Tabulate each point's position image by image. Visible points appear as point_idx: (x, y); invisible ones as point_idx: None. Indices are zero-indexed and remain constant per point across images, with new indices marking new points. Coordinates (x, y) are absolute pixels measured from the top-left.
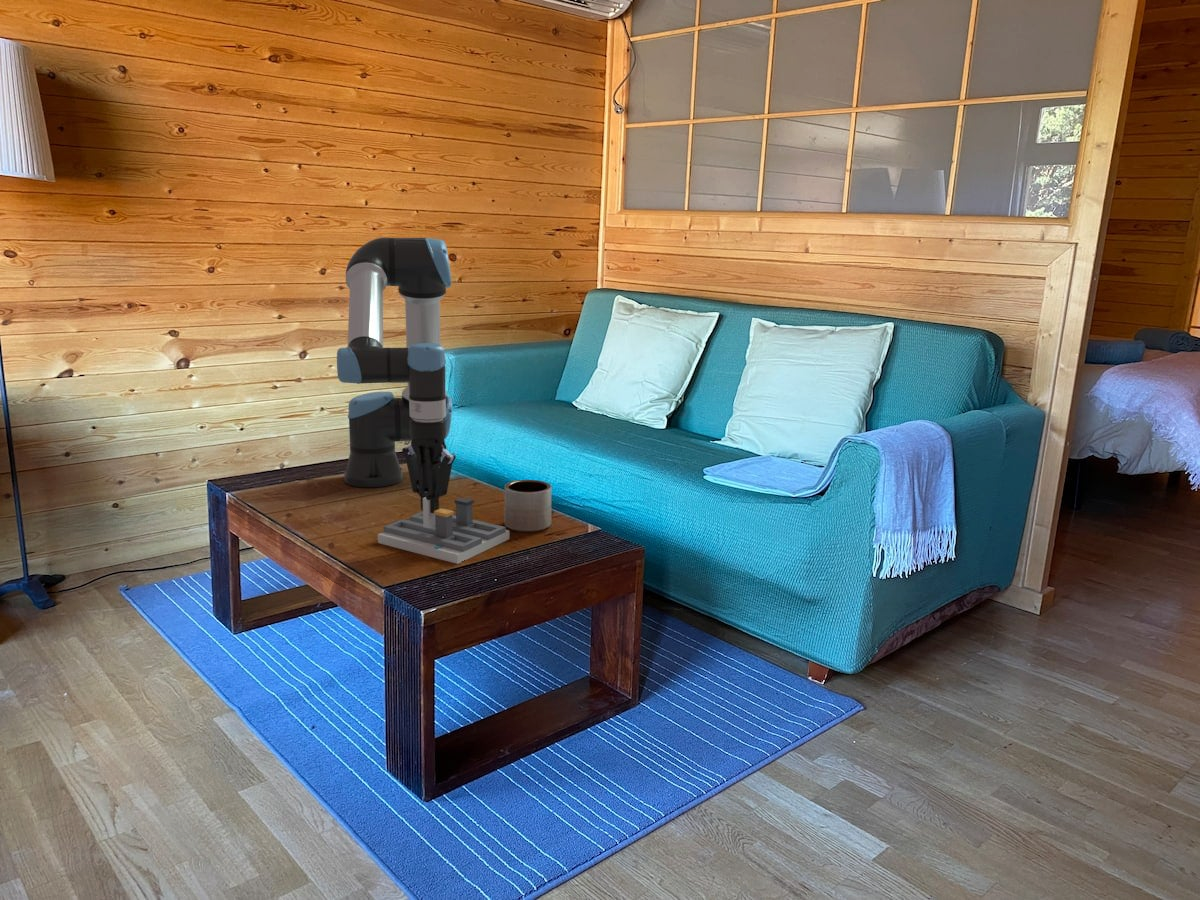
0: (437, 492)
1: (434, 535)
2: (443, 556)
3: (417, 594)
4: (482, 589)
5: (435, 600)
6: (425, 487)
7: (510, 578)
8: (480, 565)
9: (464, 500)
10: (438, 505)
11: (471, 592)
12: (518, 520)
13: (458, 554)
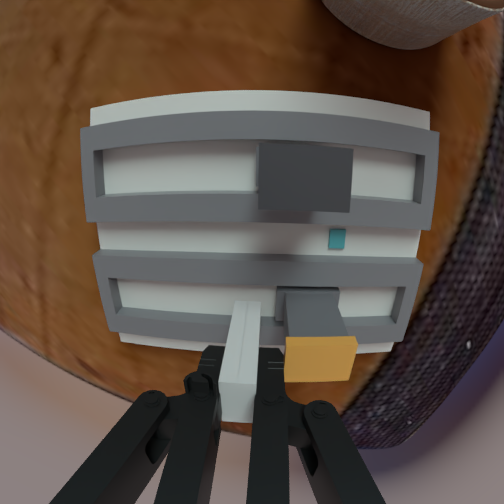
0: (314, 454)
1: (278, 320)
2: None
3: (371, 435)
4: (455, 379)
5: (402, 431)
6: (215, 449)
7: (487, 326)
8: (430, 314)
9: (314, 185)
10: (283, 369)
11: (443, 394)
12: (419, 40)
13: (391, 347)
